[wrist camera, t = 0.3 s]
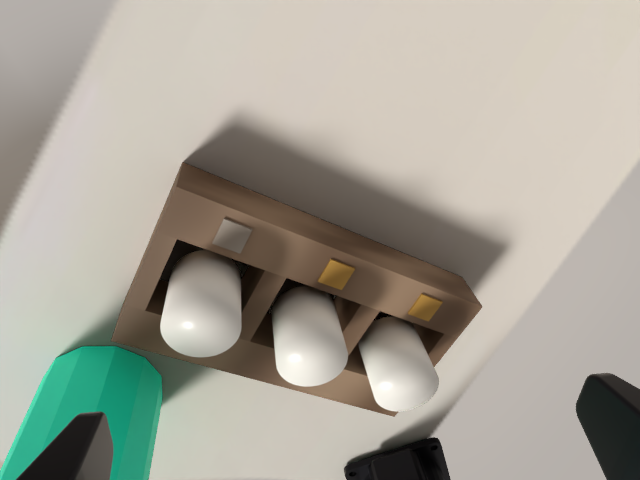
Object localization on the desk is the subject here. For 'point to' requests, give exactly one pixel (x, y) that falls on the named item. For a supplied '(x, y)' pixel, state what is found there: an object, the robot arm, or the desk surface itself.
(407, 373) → the button far
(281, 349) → the button middle
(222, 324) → the button near
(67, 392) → the candle
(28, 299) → the desk surface
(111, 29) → the desk surface
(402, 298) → the button board
